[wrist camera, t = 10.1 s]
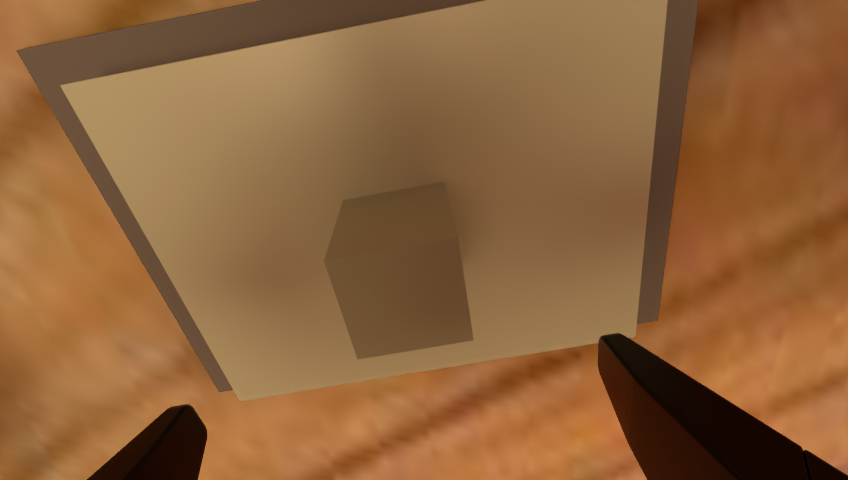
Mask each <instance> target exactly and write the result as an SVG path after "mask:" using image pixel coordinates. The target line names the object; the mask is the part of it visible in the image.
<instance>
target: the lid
mask: <svg viewBox="0 0 848 480" xmlns="http://www.w3.org/2000/svg"><path fill="white" fill-rule="evenodd" d="M667 2H668V0H483V1H478V2H473V3H468V4H463V5H458V6H453V7H448V8H443V9H438V10H433V11H428V12H423V13H418V14H413V15H408V16H403V17H398V18H393V19H388V20H383V21H378V22H373V23H368V24H363V25H358V26H353V27H348V28H343V29H337V30H332V31H327V32H322V33H317V34H312V35H307V36H302V37H297V38H292V39H287V40H282V41H277V42H272V43H267V44H262V45H257V46H252V47H247V48H242V49H237V50H232V51H227V52H222V53H217V54H212V55H207V56H202V57H197V58H192V59H187V60H182V61H177V62H172V63H167V64H162V65H157V66H152V67H147V68H142V69H137V70H132V71H127V72H122V73H117V74H112V75H107V76H102V77H97V78H92V79H88V80H83V81H78V82H73V83H69V84H64V85H60V86H61V88H62V90H63V92H64V93H65V95H66V97H67V99H68V100H69V102H70V104H71V106H72V107H73V109H74V111H75V113H76V115H77V116H78V118H79V120H80V122H81V123H82V125H83V127H84V129H85V130H86V132H87V134H88V136H89V137H90V139H91V141H92V143H93V144H94V146H95V148H96V150H97V151H98V153H99V155H100V157H101V158H102V160H103V162H104V164H105V165H106V167H107V169H108V171H109V172H110V174H111V176H112V178H113V180H114V181H115V183H116V185H117V187H118V188H119V190H120V192H121V194H122V195H123V197H124V199H125V201H126V202H127V204H128V206H129V208H130V209H131V211H132V213H133V215H134V216H135V218H136V220H137V222H138V223H139V225H140V227H141V229H142V230H143V232H144V234H145V236H146V237H147V239H148V241H149V243H150V245H151V246H152V248H153V250H154V252H155V253H156V255H157V257H158V259H159V260H160V262H161V264H162V266H163V267H164V269H165V271H166V273H167V274H168V276H169V278H170V280H171V281H172V283H173V285H174V287H175V288H176V290H177V292H178V294H179V295H180V297H181V299H182V301H183V303H184V304H185V306H186V308H187V310H188V311H189V313H190V315H191V317H192V318H193V320H194V322H195V324H196V325H197V327H198V329H199V331H200V332H201V334H202V336H203V338H204V339H205V341H206V343H207V345H208V346H209V348H210V350H211V352H212V353H213V355H214V357H215V359H216V360H217V362H218V364H219V366H220V368H221V369H222V371H223V373H224V375H225V376H226V378H227V380H228V382H229V383H230V385H231V387H232V389H233V390H234V392H235V394H236V396H237V397H238V399H239V401H245V400H252V399H258V398H264V397H270V396H276V395H282V394H288V393H295V392H301V391H307V390H313V389H319V388H325V387H331V386H338V385H344V384H350V383H356V382H362V381H368V380H374V379H380V378H387V377H393V376H399V375H405V374H411V373H417V372H423V371H430V370H436V369H442V368H448V367H454V366H460V365H466V364H473V363H479V362H485V361H491V360H497V359H503V358H509V357H515V356H522V355H528V354H534V353H540V352H546V351H552V350H558V349H565V348H571V347H577V346H583V345H589V344H595V343H599V338H600V337H601V336H602V335H607V334H613V333H620V334H623V335H624V336H626V337H627V338H632V337H636V326H637V316H638V305H639V295H640V285H641V274H642V264H643V253H644V243H645V232H646V222H647V211H648V201H649V190H650V180H651V170H652V159H653V149H654V138H655V128H656V117H657V107H658V96H659V86H660V75H661V65H662V55H663V44H664V34H665V23H666V13H667Z"/></svg>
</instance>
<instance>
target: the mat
mask: <svg viewBox="0 0 848 480" xmlns="http://www.w3.org/2000/svg"><path fill="white" fill-rule="evenodd" d="M478 1H483V0H262V1H257V2H252V3H247V4H242V5H237V6H232V7H227V8H222V9H217V10H213V11H208V12H203V13H198V14H193V15H188V16H183V17H178V18H173V19H168V20H163V21H158V22H153V23H149V24H144V25H139V26H134V27H129V28H124V29H119V30H114V31H109V32H104V33H99V34H94V35H89V36H84V37H80V38H75V39H70V40H65V41H60V42H55V43H50V44H45V45H40V46H35V47H30V48H25V49H20V50H16V51H17V52H18V54H19V56H20V57H21V59H22V61H23V62H24V64H25V66H26V67H27V69H28V71H29V73H30V74H31V76H32V78H33V79H34V81H35V83H36V84H37V86H38V88H39V89H40V91H41V93H42V94H43V96H44V98H45V99H46V101H47V103H48V105H49V106H50V108H51V110H52V111H53V113H54V115H55V116H56V118H57V120H58V121H59V123H60V125H61V126H62V128H63V130H64V131H65V133H66V135H67V137H68V138H69V140H70V142H71V143H72V145H73V147H74V148H75V150H76V152H77V153H78V155H79V157H80V158H81V160H82V162H83V163H84V165H85V167H86V169H87V170H88V172H89V174H90V175H91V177H92V179H93V180H94V182H95V184H96V185H97V187H98V189H99V190H100V192H101V194H102V195H103V197H104V199H105V201H106V202H107V204H108V206H109V207H110V209H111V211H112V212H113V214H114V216H115V217H116V219H117V221H118V222H119V224H120V226H121V227H122V229H123V231H124V233H125V234H126V236H127V238H128V239H129V241H130V243H131V244H132V246H133V248H134V249H135V251H136V253H137V254H138V256H139V258H140V259H141V261H142V263H143V265H144V266H145V268H146V270H147V271H148V273H149V275H150V276H151V278H152V280H153V281H154V283H155V285H156V286H157V288H158V290H159V291H160V293H161V295H162V297H163V298H164V300H165V302H166V303H167V305H168V307H169V308H170V310H171V312H172V313H173V315H174V317H175V318H176V320H177V322H178V324H179V325H180V327H181V329H182V330H183V332H184V334H185V335H186V337H187V339H188V340H189V342H190V344H191V345H192V347H193V349H194V350H195V352H196V354H197V356H198V357H199V359H200V361H201V362H202V364H203V366H204V367H205V369H206V371H207V372H208V374H209V376H210V377H211V379H212V381H213V382H214V384H215V386H216V388H217V389H218V391H219V392H223V391H229V390H233V389H232V387H231V385H230V383H229V382H228V380H227V378H226V376H225V375H224V373H223V371H222V369H221V368H220V366H219V364H218V362H217V360H216V359H215V357H214V355H213V353H212V352H211V350H210V348H209V346H208V345H207V343H206V341H205V339H204V338H203V336H202V334H201V332H200V331H199V329H198V327H197V325H196V324H195V322H194V320H193V318H192V317H191V315H190V313H189V311H188V310H187V308H186V306H185V304H184V303H183V301H182V299H181V297H180V295H179V294H178V292H177V290H176V288H175V287H174V285H173V283H172V281H171V280H170V278H169V276H168V274H167V273H166V271H165V269H164V267H163V266H162V264H161V262H160V260H159V259H158V257H157V255H156V253H155V252H154V250H153V248H152V246H151V245H150V243H149V241H148V239H147V237H146V236H145V234H144V232H143V230H142V229H141V227H140V225H139V223H138V222H137V220H136V218H135V216H134V215H133V213H132V211H131V209H130V208H129V206H128V204H127V202H126V201H125V199H124V197H123V195H122V194H121V192H120V190H119V188H118V187H117V185H116V183H115V181H114V180H113V178H112V176H111V174H110V172H109V171H108V169H107V167H106V165H105V164H104V162H103V160H102V158H101V157H100V155H99V153H98V151H97V150H96V148H95V146H94V144H93V143H92V141H91V139H90V137H89V136H88V134H87V132H86V130H85V129H84V127H83V125H82V123H81V122H80V120H79V118H78V116H77V115H76V113H75V111H74V109H73V107H72V106H71V104H70V102H69V100H68V99H67V97H66V95H65V93H64V92H63V90H62V88H61V86H60V85H64V84H69V83H73V82H78V81H83V80H88V79H92V78H97V77H102V76H107V75H112V74H117V73H122V72H127V71H132V70H137V69H142V68H147V67H152V66H157V65H162V64H167V63H172V62H177V61H182V60H187V59H192V58H197V57H202V56H207V55H212V54H217V53H222V52H227V51H232V50H237V49H242V48H247V47H252V46H257V45H262V44H267V43H272V42H277V41H282V40H287V39H292V38H297V37H302V36H307V35H312V34H317V33H322V32H327V31H332V30H337V29H343V28H348V27H353V26H358V25H363V24H368V23H373V22H378V21H383V20H388V19H393V18H398V17H403V16H408V15H413V14H418V13H423V12H428V11H433V10H438V9H443V8H448V7H453V6H458V5H463V4H468V3H473V2H478ZM698 1H699V0H668V2H667V13H666V23H665V34H664V44H663V55H662V65H661V75H660V86H659V96H658V107H657V117H656V128H655V138H654V149H653V159H652V170H651V180H650V190H649V201H648V211H647V222H646V232H645V243H644V253H643V264H642V274H641V285H640V295H639V305H638V316H637V324H638V323H644V322H651V321H657V320H658V314H659V306H660V299H661V291H662V283H663V275H664V267H665V259H666V252H667V244H668V236H669V228H670V220H671V212H672V205H673V197H674V189H675V181H676V173H677V165H678V158H679V150H680V142H681V134H682V126H683V118H684V111H685V103H686V95H687V87H688V79H689V71H690V64H691V56H692V48H693V40H694V32H695V24H696V17H697V9H698Z"/></svg>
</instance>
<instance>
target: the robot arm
mask: <svg viewBox="0 0 848 480" xmlns="http://www.w3.org/2000/svg"><path fill="white" fill-rule="evenodd" d="M598 369H599V372H600V375H601V378H602V380H603V383H604V385H605V388H606V390H607V393H608V395H609V398H610V400H611V403H612V405H613V408H614V410H615V412H616V415H617V417H618V420H619V422H620V425H621V427H622V430H623V432H624V434H625V437H626V439H627V441H628V444H629V446H630V448H631V450H632V452H633V454H634V456H635V457H636V459H637V461H638V463H639V465H640V467H641V469H642V471H643V472H644V474H645V476H646V478H647V480H848V475H846V474H844V473H843V472H841V471H840V470H838V469H836V468H835V467H833V466H831V465H830V464H828V463H827V462H825V461H823V460H822V459H820V458H819V457H817V456H816V455H814V454H812V453H811V452H809V451H807V450H804V451H803V449H802V447H801V446H799V445H798V444H796V443H795V442H793V441H791V440H790V439H788V438H787V437H785V436H783V435H782V434H780V433H779V432H777V431H775V430H774V429H772V428H771V427H769V426H768V425H766V424H764V423H763V422H761V421H760V420H758V419H756V418H755V417H753V416H752V415H750V414H748V413H747V412H745V411H744V410H742V409H740V408H739V407H737V406H736V405H734V404H733V403H731V402H729V401H728V400H726V399H725V398H723V397H721V396H720V395H718V394H717V393H715V392H713V391H712V390H710V389H709V388H707V387H705V386H704V385H702V384H701V383H699V382H697V381H696V380H694V379H693V378H691V377H690V376H688V375H686V374H685V373H683V372H682V371H680V370H678V369H677V368H675V367H674V366H672V365H670V364H669V363H667V362H666V361H664V360H662V359H661V358H659V357H658V356H656V355H655V354H653V353H651V352H650V351H648V350H647V349H645V348H643V347H642V346H640V345H639V344H637V343H635V342H634V341H632V340H631V339H629V338H627V337H626V336H624V335H623V334H620V333H613V334H607V335H602V336H601V337H600V338H599V344H598ZM206 441H207V429H206V427H205V425H204V423H203V422H202V420H201V419H200V417H199V416H198V414H197V413H196V411H195V410H194V408H193V407H192V406H190V405H187V404H185V405H179V406H173V407H170V408H168V409H167V410H166V411H165V412H163V413H162V414H161V415H160V416H159V417H158V418H157V419H155V420H154V421H153V422H152V423H151V424H150V425H149V426H147V427H146V428H145V429H144V430H143V431H142V432H141V433H139V434H138V435H137V436H136V437H135V438H134V439H133V440H132V441H130V442H129V443H128V444H127V445H126V446H125V447H124V448H122V449H121V450H120V451H119V452H118V453H117V454H116V455H114V456H113V457H112V458H111V459H110V460H109V461H108V462H106V463H105V464H104V465H103V466H102V467H101V468H100V469H99V470H97V471H96V472H95V473H94V474H93V475H92V476H91V477H89V478H88V479H87V480H198V476H199V472H200V467H201V463H202V458H203V454H204V450H205V445H206Z"/></svg>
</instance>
